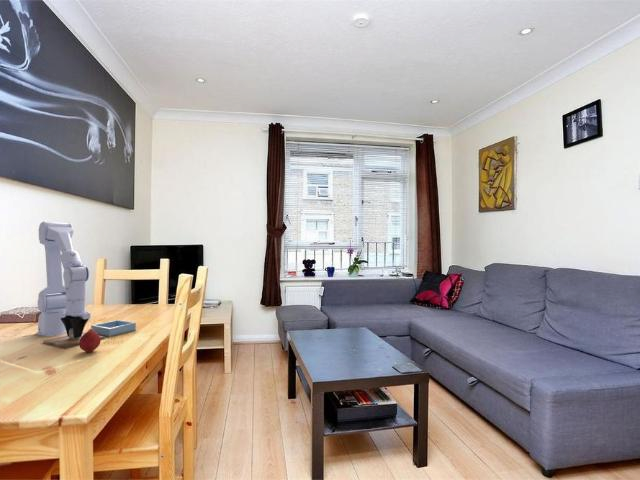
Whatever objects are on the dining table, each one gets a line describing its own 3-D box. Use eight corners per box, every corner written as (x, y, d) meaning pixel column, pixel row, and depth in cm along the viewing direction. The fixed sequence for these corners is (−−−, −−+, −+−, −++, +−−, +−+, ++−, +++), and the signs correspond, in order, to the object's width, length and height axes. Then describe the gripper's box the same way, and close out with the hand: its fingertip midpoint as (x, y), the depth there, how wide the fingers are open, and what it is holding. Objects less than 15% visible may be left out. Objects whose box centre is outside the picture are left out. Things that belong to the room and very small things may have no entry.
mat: (40, 344, 119) (40, 343, 119) (82, 334, 131) (82, 333, 131) (64, 350, 113) (64, 349, 113) (105, 339, 126) (105, 338, 126)
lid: (43, 343, 119) (43, 330, 119) (82, 334, 131) (82, 323, 131) (65, 348, 114) (65, 335, 114) (103, 338, 125) (104, 327, 125)
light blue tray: (91, 334, 132) (91, 325, 132) (117, 328, 142) (117, 319, 142) (109, 337, 128) (109, 328, 128) (135, 331, 138) (135, 322, 138)
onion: (89, 356, 107) (90, 331, 107) (74, 355, 108) (75, 330, 108) (104, 350, 113) (105, 327, 113) (90, 349, 114) (90, 326, 114)
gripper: (51, 299, 122) (50, 336, 121) (75, 302, 116) (74, 342, 116) (72, 296, 128) (71, 332, 128) (96, 299, 122) (95, 337, 122)
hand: (74, 336), depth 122 cm, fingers closed on lid, 3 cm apart
